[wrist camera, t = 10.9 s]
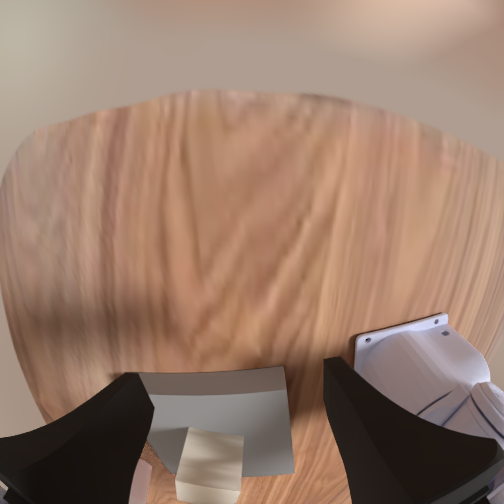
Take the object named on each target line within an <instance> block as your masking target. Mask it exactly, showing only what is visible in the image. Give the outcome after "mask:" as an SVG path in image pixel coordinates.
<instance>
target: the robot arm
mask: <svg viewBox="0 0 504 504" xmlns="http://www.w3.org/2000/svg"><path fill="white" fill-rule="evenodd" d="M435 320H436V321H435ZM447 322H448V315H447V314H446V313H441V314H438V315H435V316H431V317H428V318H425V319H421V320H418V321H414V322H410V323H407V324H403V325H399V326H395V327H391V328H387V329H383V330H379V331H375V332H370V333H366V334H361V335H359V336H358V337H357V338H356V341H355V359H354V369H353V368H352V367H351V366H350V365H349V364H348V363H347V362H346V361H345V360H344V359H343V358H342V357H340V356H338V357H333V358H328V359H324V396H323V397H324V402H325V407H326V412H327V416H328V420H329V423H330V426H331V429H332V432H333V434H334V437H335V440H336V443H337V446H338V449H339V451H340V454H341V457H342V460H343V463H344V466H345V470H346V474H347V479H348V484H349V489H350V494H351V500H352V504H504V392H503V391H502V390H500V389H499V388H498V387H497V386H495V385H494V384H492V383H491V382H490V373H489V368H488V365H487V363H486V361H485V359H484V357H483V356H482V354H481V353H480V352H479V351H478V350H477V349H476V348H474V347H473V346H472V345H471V344H470V343H469V342H468V341H467V340H466V339H464V338H463V337H462V336H461V335H460V334H459V333H458V332H456V331H455V330H454V329H453V328H452V327H451V326H449V325H448V324H447ZM367 338H369V339H368V340H367V341H365V340H366V339H367ZM154 410H155V407H154V405H153V403H152V401H151V399H150V397H149V395H148V393H147V391H146V389H145V387H144V384H143V382H142V380H141V378H140V376H139V373H125V374H123V375H121V376H120V377H119V378H117V379H116V380H114V381H113V382H112V383H110V384H109V385H108V386H106V387H105V388H104V389H103V390H101V391H100V392H99V393H97V394H96V395H95V396H93V397H92V398H91V399H89V400H88V401H86V402H85V403H83V404H82V405H80V406H79V407H78V408H76V409H75V410H73V411H72V412H70V413H68V414H67V415H65V416H63V417H61V418H60V419H58V420H56V421H54V422H52V423H50V424H47V425H45V426H43V427H40V428H38V429H35V430H33V431H30V432H26V433H23V434H19V435H15V436H11V437H4V438H0V480H1V481H2V482H3V483H4V484H5V485H6V486H7V487H8V490H7V491H6V490H4V489H3V488H2V487H1V486H0V504H129V498H130V491H131V486H132V481H133V476H134V473H135V470H136V466H137V464H138V461H139V458H140V456H141V453H142V450H143V448H144V445H145V442H146V440H147V437H148V434H149V431H150V428H151V424H152V420H153V415H154Z"/></svg>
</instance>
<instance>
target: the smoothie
mask: <svg viewBox="0 0 504 504" xmlns="http://www.w3.org/2000/svg"><path fill="white" fill-rule="evenodd" d="M151 472H152V466H151V465H150V464H149V463H147V462H146V461H144V460H142V459H139V461H138V464H137V466H136V470H135V473H134V476H133V481H132V486H131V491H130V498H129V504H147V498H148V491H149V485H150V478H151Z"/></svg>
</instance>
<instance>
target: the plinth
mask: <svg viewBox="0 0 504 504" xmlns="http://www.w3.org/2000/svg"><path fill="white" fill-rule="evenodd" d="M131 373H136V372H131ZM139 376H140V378H141V380H142V382H143V384H144V387H145V389H146V391H147V393H148V395H149V397H150V399H151V401H152V403H153V405H154V407H155V410H154V415H153V420H152V424H151V428H150V431H149V434H148V437H147V441H148V442H149V444H150V445H151V447H152V448H153V450H154V451H155V453H156V454H157V456H158V457H159V458H160V460H161V461H162V462H163V464H164V465H165V467H166V468H167V469H168V471H169V472H170V473H172V474H177V471H178V467H179V463H180V459H181V456H182V452H183V448H184V444H185V441H186V437H187V433H188V429H189V427H191V428H196V429H201V430H207V431H212V432H218V433H225V434H232V435H240V436H244V445H243V461H242V477H258V476H273V475H284V474H293V473H295V472H294V460H293V449H292V438H291V428H290V417H289V407H288V398H287V388H286V380H285V372H284V366H278V367H270V368H261V369H250V370H239V371H225V372H206V373H139Z"/></svg>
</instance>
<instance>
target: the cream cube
mask: <svg viewBox="0 0 504 504" xmlns="http://www.w3.org/2000/svg"><path fill="white" fill-rule="evenodd" d="M243 445H244V436H240V435H232V434H225V433H218V432H212V431H207V430H201V429H196V428H191V427H189V429H188V433H187V437H186V441H185V444H184V448H183V452H182V456H181V459H180V463H179V467H178V471H177V475H176V479H175V484H176V492H177V498H178V500H179V501H184V502H189V503H194V504H236V502H237V499H238V497H239V494H240V492H241V477H242V461H243Z"/></svg>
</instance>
